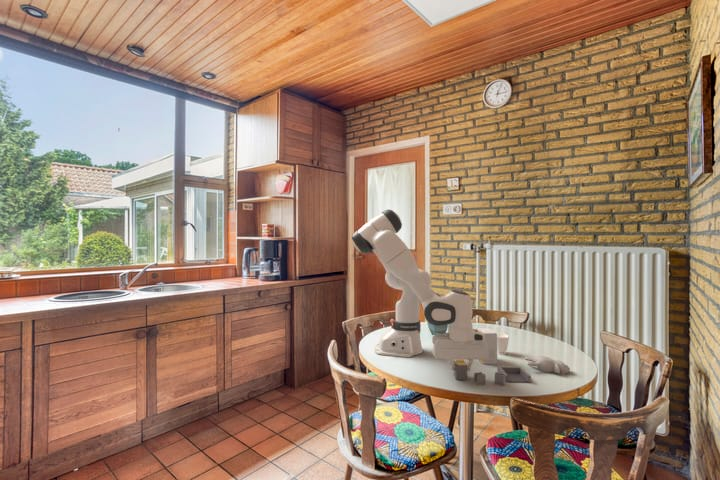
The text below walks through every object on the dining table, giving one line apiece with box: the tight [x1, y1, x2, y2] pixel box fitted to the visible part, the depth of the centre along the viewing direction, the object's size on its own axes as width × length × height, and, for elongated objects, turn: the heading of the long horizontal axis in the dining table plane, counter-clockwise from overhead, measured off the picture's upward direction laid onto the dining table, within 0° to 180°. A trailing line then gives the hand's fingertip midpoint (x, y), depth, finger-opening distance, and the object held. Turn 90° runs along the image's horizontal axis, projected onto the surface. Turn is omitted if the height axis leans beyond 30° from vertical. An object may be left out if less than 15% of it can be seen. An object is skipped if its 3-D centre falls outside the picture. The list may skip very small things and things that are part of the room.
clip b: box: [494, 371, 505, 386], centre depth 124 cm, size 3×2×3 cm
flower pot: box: [426, 320, 448, 336], centre depth 187 cm, size 9×9×9 cm
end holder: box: [496, 365, 532, 384], centre depth 129 cm, size 9×9×2 cm
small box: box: [476, 327, 498, 365], centre depth 147 cm, size 8×6×13 cm
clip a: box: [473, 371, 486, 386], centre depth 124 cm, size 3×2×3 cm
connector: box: [453, 359, 468, 381], centre depth 129 cm, size 4×5×6 cm
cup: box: [497, 333, 510, 356], centre depth 157 cm, size 7×10×8 cm
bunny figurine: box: [524, 355, 571, 375], centre depth 136 cm, size 10×5×15 cm
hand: (460, 370), depth 129 cm, fingers closed on connector, 4 cm apart
